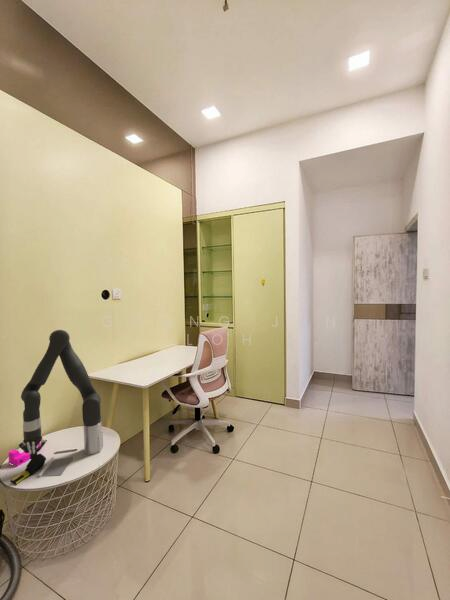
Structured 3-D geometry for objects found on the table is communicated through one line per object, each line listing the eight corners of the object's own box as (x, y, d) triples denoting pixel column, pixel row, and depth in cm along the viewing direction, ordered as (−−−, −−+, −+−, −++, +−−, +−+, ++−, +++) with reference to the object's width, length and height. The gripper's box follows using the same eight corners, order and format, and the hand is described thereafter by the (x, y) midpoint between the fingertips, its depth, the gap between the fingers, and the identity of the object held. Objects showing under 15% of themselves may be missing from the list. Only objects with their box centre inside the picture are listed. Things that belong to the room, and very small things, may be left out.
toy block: (17, 467, 141) (17, 454, 141) (9, 465, 143) (8, 452, 142) (43, 451, 155) (43, 438, 155) (35, 449, 157) (35, 437, 157)
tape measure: (37, 462, 142) (42, 450, 141) (43, 467, 141) (48, 455, 140) (9, 481, 128) (15, 468, 127) (16, 487, 127) (21, 474, 126)
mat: (72, 457, 148) (72, 455, 148) (61, 475, 135) (60, 472, 135) (52, 459, 147) (52, 457, 147) (38, 477, 133) (38, 474, 133)
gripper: (49, 422, 143) (51, 453, 144) (22, 424, 141) (24, 456, 142) (42, 429, 135) (43, 462, 136) (13, 432, 134) (15, 465, 134)
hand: (33, 459), depth 139 cm, fingers closed
